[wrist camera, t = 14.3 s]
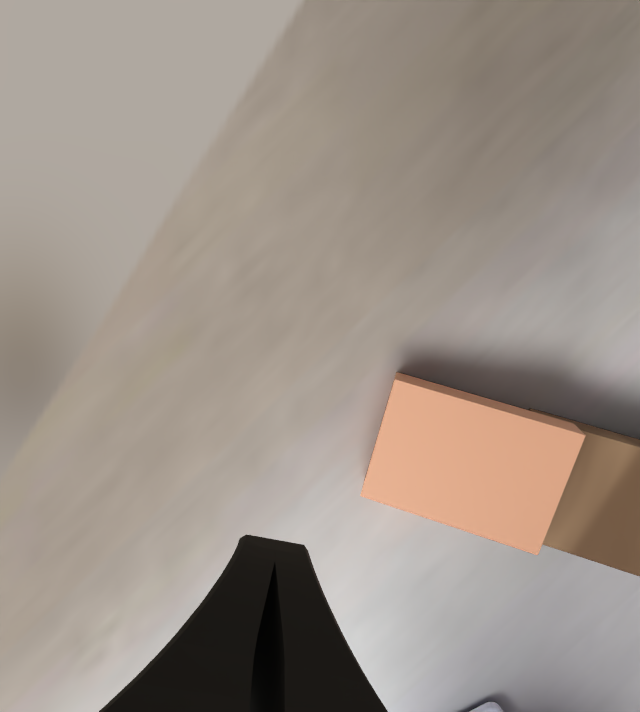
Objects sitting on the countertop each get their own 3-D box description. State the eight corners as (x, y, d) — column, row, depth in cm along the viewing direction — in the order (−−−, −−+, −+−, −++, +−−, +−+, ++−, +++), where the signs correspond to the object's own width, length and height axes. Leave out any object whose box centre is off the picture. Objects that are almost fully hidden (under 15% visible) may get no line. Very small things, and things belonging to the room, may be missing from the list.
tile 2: (529, 407, 20) (708, 459, 19) (491, 512, 21) (658, 567, 20) (537, 417, 19) (730, 474, 18) (496, 528, 20) (676, 588, 19)
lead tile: (396, 371, 19) (573, 423, 18) (364, 481, 20) (529, 535, 19) (394, 379, 18) (585, 435, 17) (360, 496, 19) (537, 555, 18)
